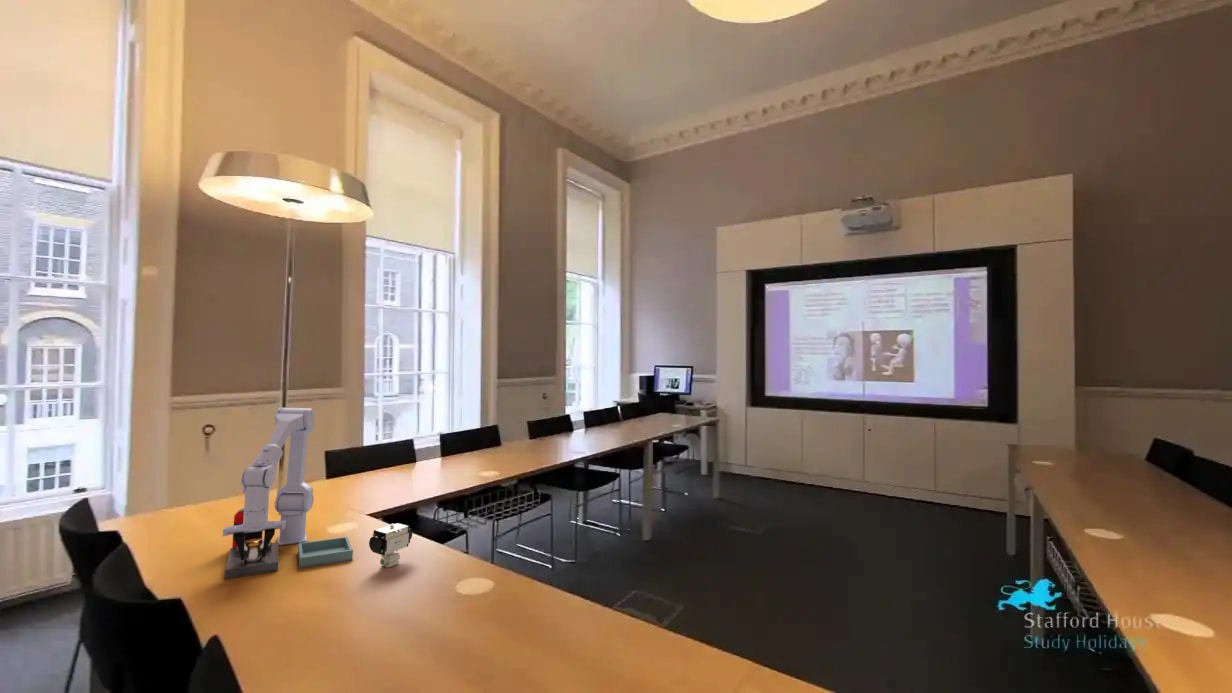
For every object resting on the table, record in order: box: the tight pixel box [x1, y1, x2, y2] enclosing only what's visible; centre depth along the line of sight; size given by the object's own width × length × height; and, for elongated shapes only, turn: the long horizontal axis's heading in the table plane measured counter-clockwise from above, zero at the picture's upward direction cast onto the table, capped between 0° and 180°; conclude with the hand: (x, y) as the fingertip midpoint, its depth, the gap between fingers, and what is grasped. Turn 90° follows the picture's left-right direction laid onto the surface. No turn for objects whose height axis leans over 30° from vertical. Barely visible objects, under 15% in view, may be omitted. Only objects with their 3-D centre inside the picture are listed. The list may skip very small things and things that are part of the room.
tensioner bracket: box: [224, 538, 279, 580], centre depth 150 cm, size 18×12×6 cm, turn 33°
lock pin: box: [246, 538, 263, 564], centre depth 146 cm, size 4×4×8 cm
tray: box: [297, 536, 354, 569], centre depth 157 cm, size 14×14×3 cm
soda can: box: [231, 507, 264, 548], centre depth 161 cm, size 8×8×12 cm
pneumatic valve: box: [368, 522, 413, 569], centre depth 153 cm, size 6×12×12 cm, turn 152°
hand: (253, 557), depth 146 cm, fingers open, 4 cm apart
